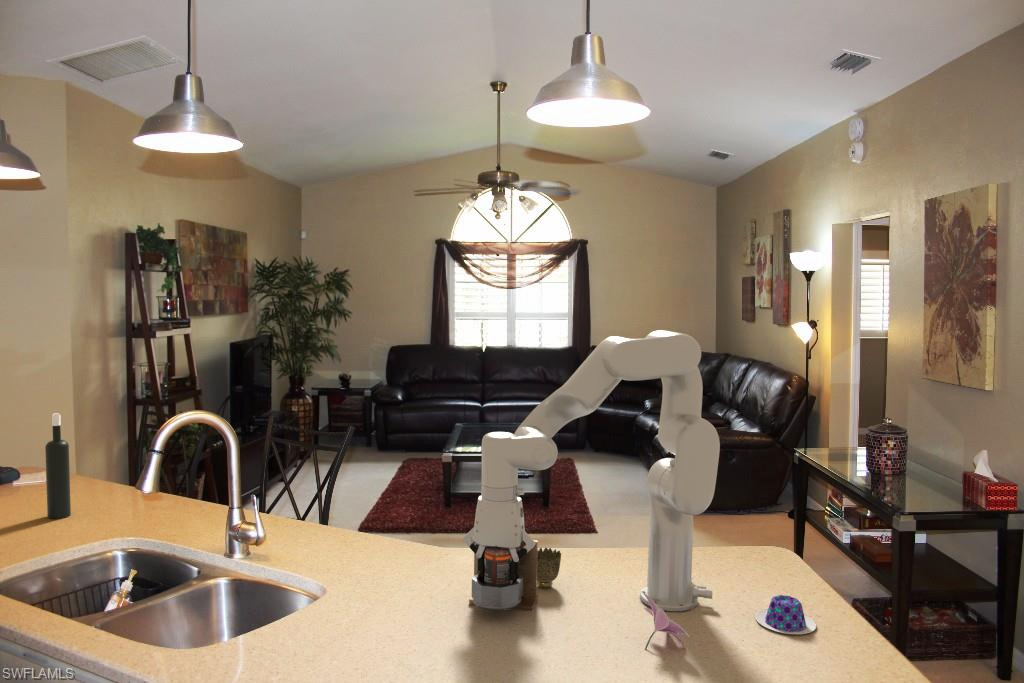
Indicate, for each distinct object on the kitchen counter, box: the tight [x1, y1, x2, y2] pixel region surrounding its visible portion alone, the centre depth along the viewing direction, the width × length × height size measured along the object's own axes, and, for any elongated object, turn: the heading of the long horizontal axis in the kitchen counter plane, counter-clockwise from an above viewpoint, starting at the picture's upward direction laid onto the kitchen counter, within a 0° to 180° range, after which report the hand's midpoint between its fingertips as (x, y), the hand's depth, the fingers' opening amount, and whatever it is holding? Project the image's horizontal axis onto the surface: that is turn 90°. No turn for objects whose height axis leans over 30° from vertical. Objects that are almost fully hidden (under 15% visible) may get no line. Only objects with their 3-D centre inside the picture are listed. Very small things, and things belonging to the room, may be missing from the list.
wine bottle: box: [44, 412, 72, 520], centre depth 217 cm, size 6×6×30 cm
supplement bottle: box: [484, 546, 513, 586], centre depth 158 cm, size 6×6×11 cm
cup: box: [537, 547, 562, 590], centre depth 173 cm, size 8×7×8 cm
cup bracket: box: [468, 539, 539, 613], centre depth 160 cm, size 14×14×14 cm
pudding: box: [754, 594, 817, 635], centre depth 157 cm, size 12×12×5 cm
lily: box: [642, 591, 690, 650], centre depth 146 cm, size 12×12×10 cm
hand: (498, 575), depth 158 cm, fingers closed on supplement bottle, 5 cm apart
